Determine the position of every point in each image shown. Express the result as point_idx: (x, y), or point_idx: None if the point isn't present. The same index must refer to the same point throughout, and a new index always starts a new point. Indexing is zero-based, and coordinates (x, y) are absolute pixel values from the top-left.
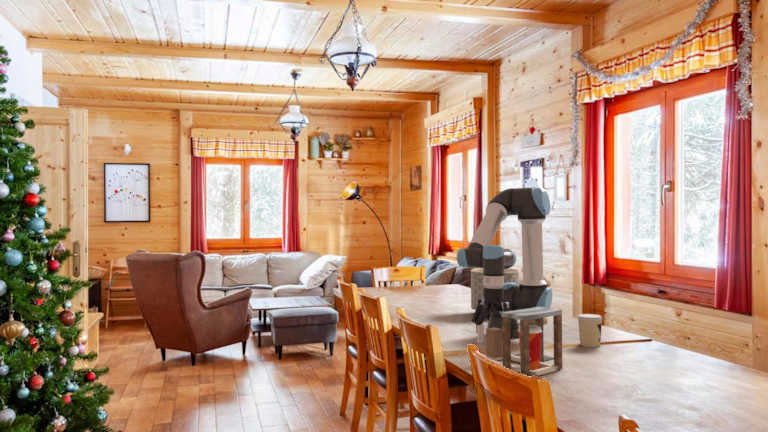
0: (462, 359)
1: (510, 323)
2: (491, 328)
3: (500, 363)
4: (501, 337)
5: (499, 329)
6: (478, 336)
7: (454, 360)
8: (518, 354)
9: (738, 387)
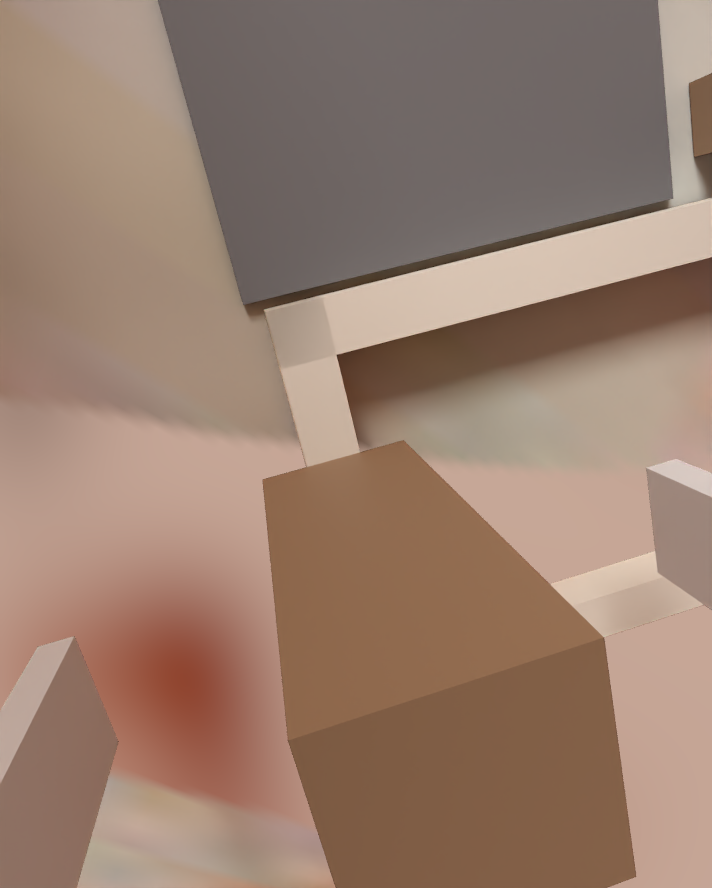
0: (125, 781)
1: None
2: (402, 856)
3: (651, 620)
4: (504, 553)
5: (611, 720)
6: (84, 834)
7: (136, 864)
8: (196, 10)
9: None
